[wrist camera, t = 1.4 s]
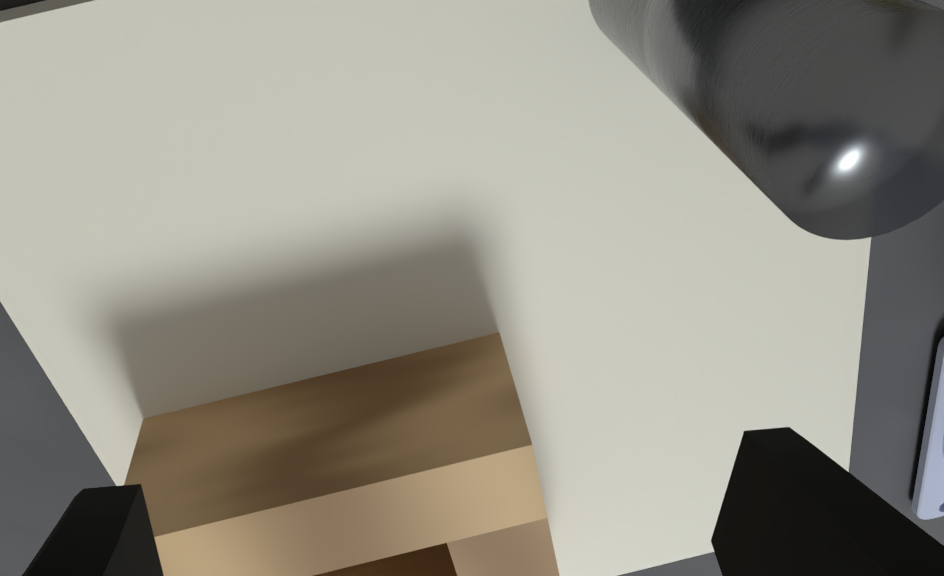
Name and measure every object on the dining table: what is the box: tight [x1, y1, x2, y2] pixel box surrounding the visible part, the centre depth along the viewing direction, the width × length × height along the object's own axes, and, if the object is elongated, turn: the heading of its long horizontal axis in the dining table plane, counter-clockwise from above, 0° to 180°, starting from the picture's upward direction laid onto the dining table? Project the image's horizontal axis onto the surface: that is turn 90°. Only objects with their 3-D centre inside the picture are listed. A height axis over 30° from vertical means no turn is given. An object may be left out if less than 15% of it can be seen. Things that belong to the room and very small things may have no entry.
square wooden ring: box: [124, 332, 560, 576], centre depth 21 cm, size 9×9×4 cm
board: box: [0, 0, 871, 576], centre depth 21 cm, size 20×20×1 cm
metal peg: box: [588, 0, 944, 240], centre depth 13 cm, size 3×3×8 cm
